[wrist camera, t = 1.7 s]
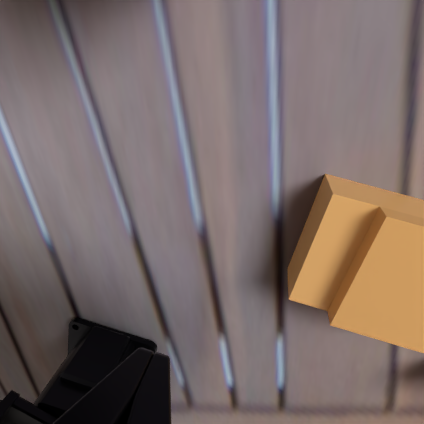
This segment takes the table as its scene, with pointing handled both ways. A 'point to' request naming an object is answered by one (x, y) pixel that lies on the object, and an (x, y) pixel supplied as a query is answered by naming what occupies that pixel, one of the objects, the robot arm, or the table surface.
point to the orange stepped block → (363, 261)
